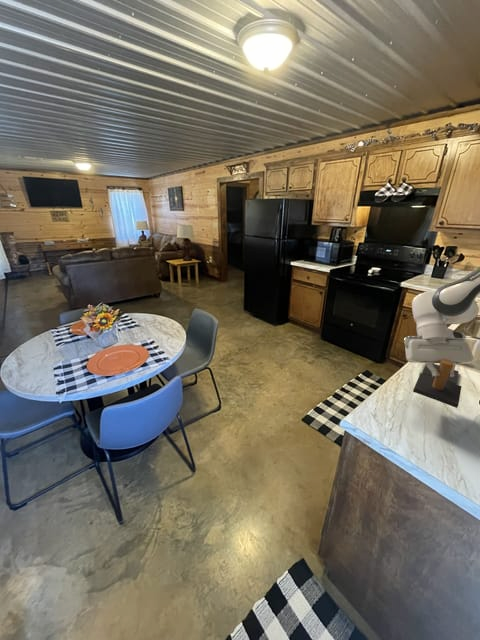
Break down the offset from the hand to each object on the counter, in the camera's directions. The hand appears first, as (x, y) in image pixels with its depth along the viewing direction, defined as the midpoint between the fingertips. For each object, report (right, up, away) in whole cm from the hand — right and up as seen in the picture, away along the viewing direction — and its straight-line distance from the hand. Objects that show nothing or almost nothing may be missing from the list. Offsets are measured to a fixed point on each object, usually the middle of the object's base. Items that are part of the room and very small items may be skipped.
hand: (443, 376), depth 86 cm
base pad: (+22, -6, +30) cm, 37 cm away
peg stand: (+1, -5, +4) cm, 7 cm away
